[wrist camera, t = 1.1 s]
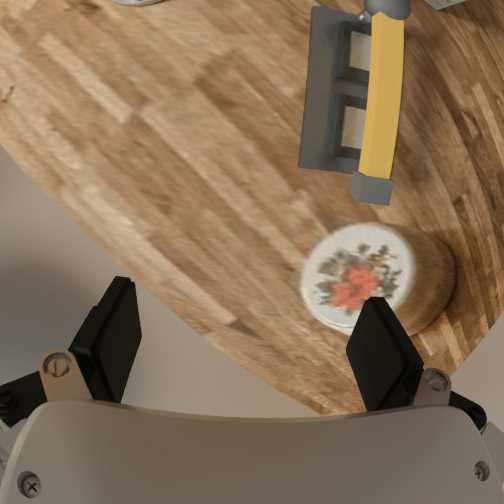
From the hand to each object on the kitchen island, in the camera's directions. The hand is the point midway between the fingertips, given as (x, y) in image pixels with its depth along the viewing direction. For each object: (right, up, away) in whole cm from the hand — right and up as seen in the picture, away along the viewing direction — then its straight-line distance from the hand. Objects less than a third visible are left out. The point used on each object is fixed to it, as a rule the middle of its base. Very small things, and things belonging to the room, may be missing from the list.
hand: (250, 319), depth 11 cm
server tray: (+12, +21, +17) cm, 29 cm away
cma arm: (+12, +18, +11) cm, 24 cm away
